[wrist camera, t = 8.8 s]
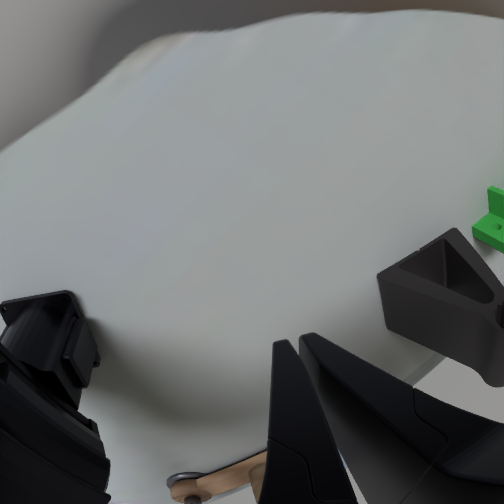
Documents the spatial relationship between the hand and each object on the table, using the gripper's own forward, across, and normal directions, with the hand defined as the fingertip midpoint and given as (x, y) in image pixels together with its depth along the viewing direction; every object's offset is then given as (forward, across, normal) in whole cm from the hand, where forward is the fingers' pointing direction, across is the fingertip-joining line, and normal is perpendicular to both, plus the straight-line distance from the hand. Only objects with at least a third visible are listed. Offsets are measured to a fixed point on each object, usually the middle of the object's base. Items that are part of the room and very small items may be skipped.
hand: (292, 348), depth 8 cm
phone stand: (+12, -16, +8) cm, 22 cm away
